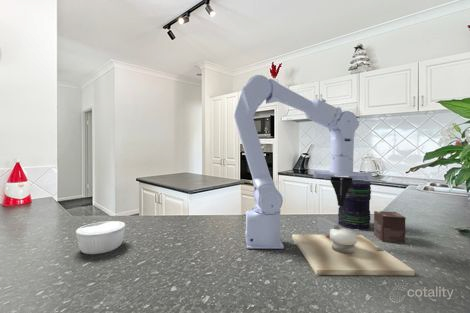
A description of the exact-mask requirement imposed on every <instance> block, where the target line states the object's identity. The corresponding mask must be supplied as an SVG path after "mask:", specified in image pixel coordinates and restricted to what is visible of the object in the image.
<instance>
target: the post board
mask: <svg viewBox="0 0 470 313" xmlns="http://www.w3.org/2000/svg"><path fill="white" fill-rule="evenodd" d="M291 238H292V240H293V241H294V243H295V244H296V247H297V248H298V249H299V250H300V252H301V253H302V255H303V256H304V258H305V260H306V261H307V263H308V264H309V266H310V267H311V269H312V270H313V271H314V273H315V275H316V276H320V275H321V276H415V273H416V272H415V269H413V268H411V267H410V266H408V265H407V264H406V263H404V262H402V261H401V260H400V259H398V258H396V257H395V256H393V255H392V254H391V253H389V252H388V251H386V250H384V249H383V248H381V246H378V245H377V244H376V243H374V242H373V241H371V240H370V239H369V238H366V237H365V236H364V235H362V234H357V243H356V244H354V245H343V244H338V243H335V242H333V241H331V240H330V235H329V234H327V233H326V234H300V233H299V234H294V233H293V234H292V235H291Z"/></svg>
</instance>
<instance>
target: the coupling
mask: <svg viewBox="0 0 470 313" xmlns="http://www.w3.org/2000/svg"><path fill="white" fill-rule="evenodd" d="M316 221H317V223H316V225H317V226H316V228H317V229H318V230H320V231H322V232H324V233H326V234H327V235H330V240H331V241H333V242H335V243H338V244H343V245H354V244H356V243H357V235H358V233H357V232H356V231H354V230H353V229H349V228H344V227H343V228H341V227H340V225H339V224H338V223H336V222H334V221H332V220H329V219H327V218H325V217H322V216H321V217H320V216H319V217H317V220H316Z"/></svg>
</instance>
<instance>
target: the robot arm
mask: <svg viewBox="0 0 470 313" xmlns="http://www.w3.org/2000/svg"><path fill="white" fill-rule="evenodd" d="M265 100H266V101H265ZM264 102H265V104H267V105H268V104H273V103H277V102H279V103H281V104H284V105H286V106H289V107H291V108H293V109H296V110H299V111H301V112H302V113H303V112H304V113H305V117H306V119H308V120H310V121H312V122H314V123H316V124H318V125H321V126H323V127H326V128H327V130H328V131H329V132H330V161H329V162H330V166H329V168H330V169H329V170H316V169H315V170H313V173H312V177H313V179H315V178H316V179H317V178H320V179H321V178H322V179H323V178H324V179H330V183H331V185H332V187H333V190H334V193H335V196H336V202H337V206H338V207H339V206H344V200H345V197H346V194H347V192H348V189H349V188H350V186H351V184H352V180H360V181H367V182H372V181H373V173H372V172H362V171H361V172H359V171H354V151H355V150H354V147H355V143H354V142H355V136H356V135H355V133H356V130H358V128H359V126H360V121H359V120H358V117H357V115H356V114H355V113H354V111H353V112H352V111H351V110H342V108H341V107H340V106H335V105H332V104H330V103H327V99H324V98H320V99H318V98H316V99H312V100H310V99H308V98H306V97H305V96H303V95H300V94H299V93H297V92H295V91H293V90H291V89H289V88H287V87H286V86H283V85H282V84H280V83H279V82H278V81H277V80H275V79H272V78H268V77H266V76H265V75H263V74H256V75H253V76H251V77H250V78H249V79H248V80H247V82H246V83H245V84H244V86H243V88H242V90H241V92H240V95H239V98H238V102H237V105H236V107H235V110H234V113H233V117H234V121H235V125H236V128H237V131H238V134H239V138H240V142H241V145H242V147H243V151H244V155H245V159H246V161H247V162H246V163H247V165H248V168H249V172H250V174H251V177H252V178H251V179H252V184H253V199H254V201H255V203H256V204H255V205H254V207H253V209H252V210H250V209H249V210H246V211H245V230H244V238H245V242H246V243H245V244H246V248H247V249H265V250H267V249H269V250H270V249H271V250H273V249H276V250H277V249H281V250H283V249H285V245H284V244H283V242H282V240H281V208H282V206H283V202H284V201H283V195H282V193H281V192H280V191H279V190H278V188H277V187H276V185H275V182H274V180H273V178H272V176H271V174H270V170H269V167H268V164H267V160H266V157H265V153H264V151H263V147H262V143H261V140H260V137H259V133H258V130H257V127H256V123H255V120H254V116H255V113H256V112H257V111H258V109H259V107H260V106H261V105H262V104H263V103H264ZM341 180H342V195H341V196H340V181H341Z"/></svg>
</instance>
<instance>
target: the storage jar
mask: <svg viewBox="0 0 470 313" xmlns="http://www.w3.org/2000/svg"><path fill="white" fill-rule="evenodd" d="M371 182H372V181H367V180H354V179H352V184H351V186H350V188H349V189H348V192H347V194H346V197H345V200H344V206H338V212H337V217H338V223H337V224H338V225H339V227H343V228H344V229H349V228H350V229H349V230H354V229H359V230H358V231H366V230H365V229H367V230H369V229H370V228H371V225H370V224H371V210H370V206H371V205H370V204H371V202H370V201H371V199H372V196H371V194H372V189H371V188H372V187H371V185H372V183H371ZM341 195H342V179H341V181H340V196H341Z"/></svg>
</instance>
